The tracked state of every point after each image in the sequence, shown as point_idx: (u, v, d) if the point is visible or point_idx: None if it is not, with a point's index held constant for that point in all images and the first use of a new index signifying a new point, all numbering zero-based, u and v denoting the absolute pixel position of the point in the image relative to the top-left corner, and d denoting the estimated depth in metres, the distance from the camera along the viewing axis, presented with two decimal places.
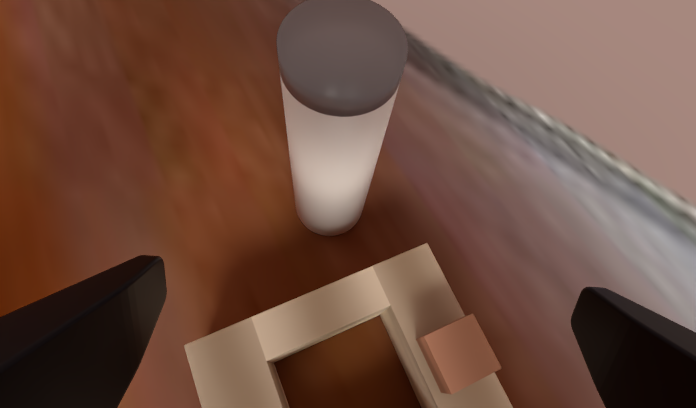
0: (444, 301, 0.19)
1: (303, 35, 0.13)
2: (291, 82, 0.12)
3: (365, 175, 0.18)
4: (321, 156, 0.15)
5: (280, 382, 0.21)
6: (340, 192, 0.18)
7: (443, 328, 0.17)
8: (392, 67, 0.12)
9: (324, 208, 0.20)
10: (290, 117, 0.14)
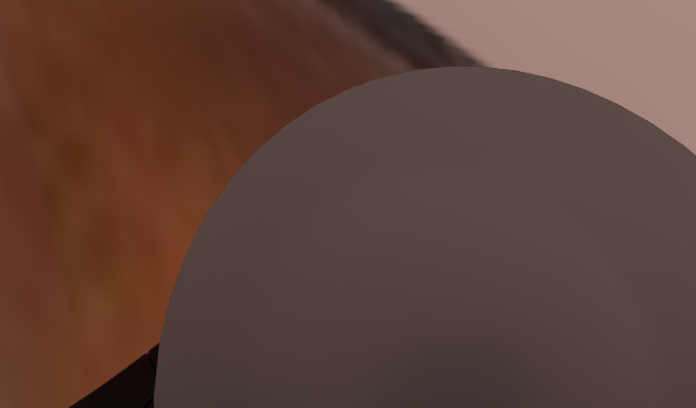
0: None
1: (309, 309, 0.02)
2: None
3: None
4: None
5: None
6: None
7: None
8: None
9: None
10: None
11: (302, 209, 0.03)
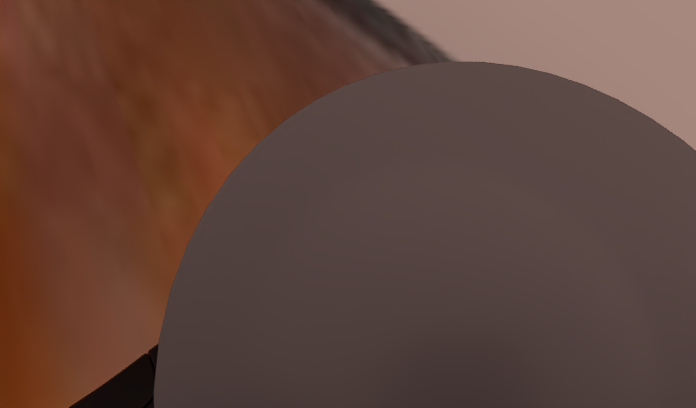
0: None
1: (308, 303, 0.02)
2: None
3: None
4: None
5: None
6: None
7: None
8: None
9: None
10: None
11: (301, 204, 0.03)
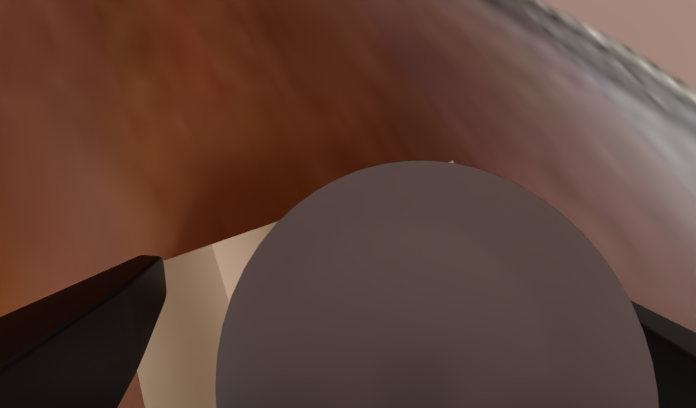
0: None
1: (310, 332, 0.04)
2: None
3: None
4: None
5: None
6: None
7: None
8: None
9: None
10: None
11: (305, 265, 0.04)
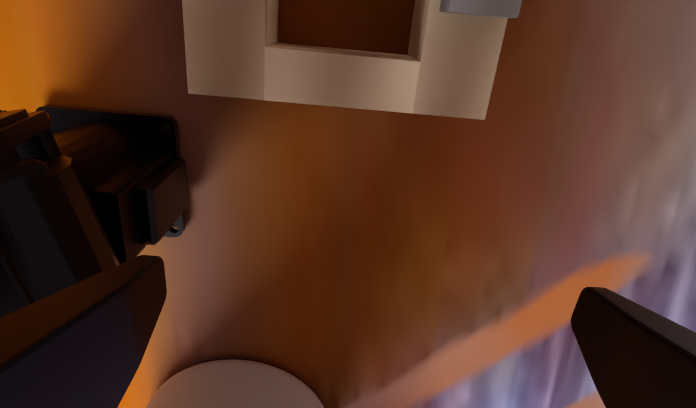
0: None
1: None
2: None
3: None
4: None
5: None
6: None
7: None
8: None
9: None
10: None
11: None
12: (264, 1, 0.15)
